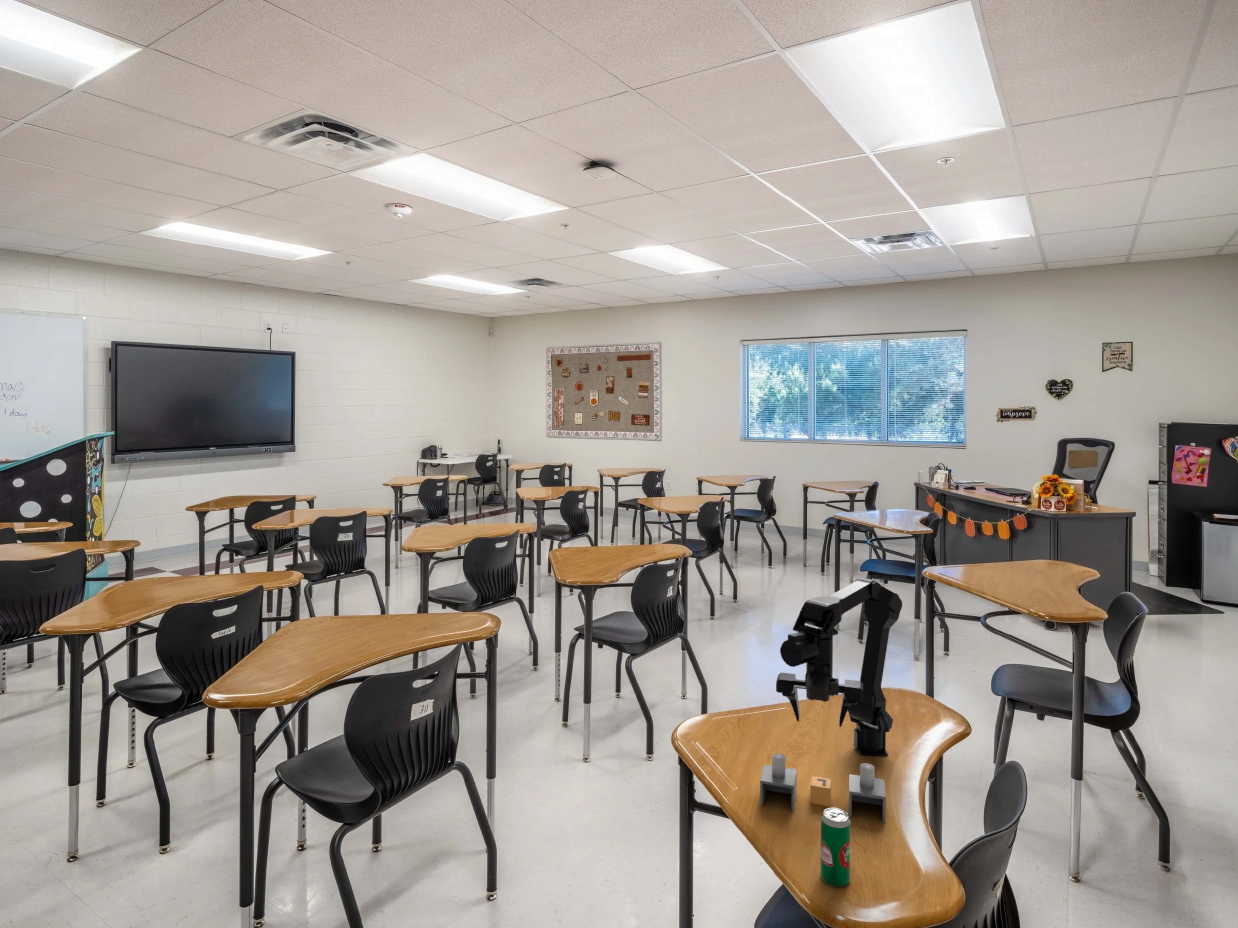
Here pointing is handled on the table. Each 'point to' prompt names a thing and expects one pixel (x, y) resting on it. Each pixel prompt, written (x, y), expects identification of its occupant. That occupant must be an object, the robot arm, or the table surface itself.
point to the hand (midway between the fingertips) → (819, 723)
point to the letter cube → (820, 791)
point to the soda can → (835, 847)
